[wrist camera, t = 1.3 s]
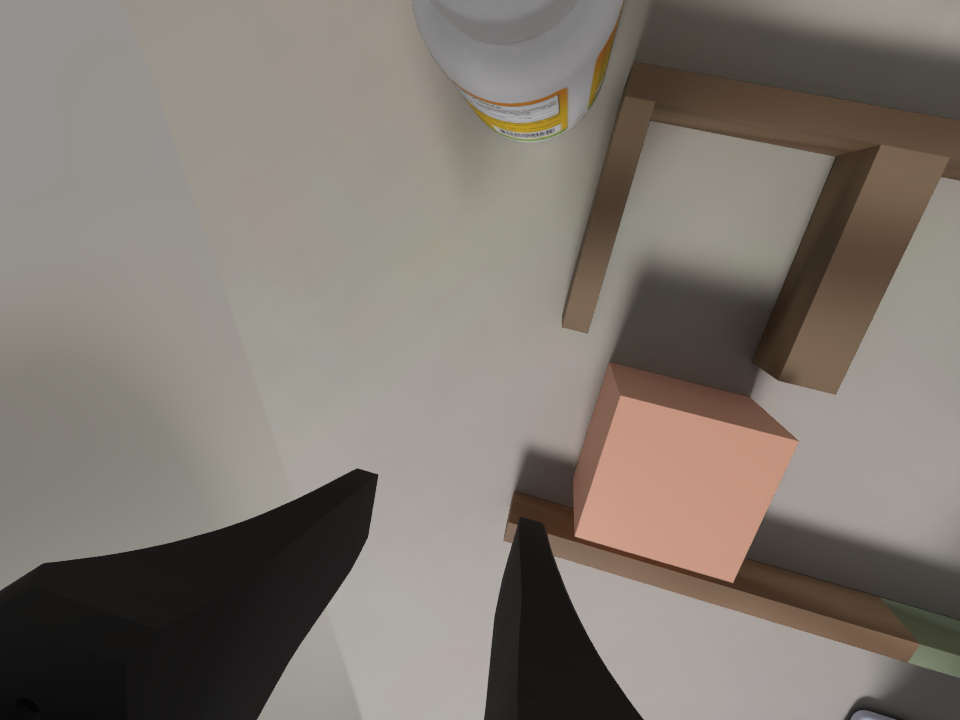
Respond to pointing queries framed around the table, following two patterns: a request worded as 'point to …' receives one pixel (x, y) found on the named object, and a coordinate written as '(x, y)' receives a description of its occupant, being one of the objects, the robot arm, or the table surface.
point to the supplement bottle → (522, 58)
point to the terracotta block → (677, 471)
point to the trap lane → (783, 315)
